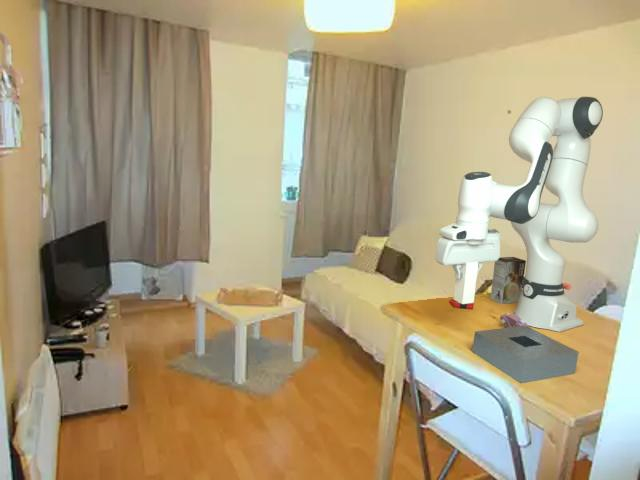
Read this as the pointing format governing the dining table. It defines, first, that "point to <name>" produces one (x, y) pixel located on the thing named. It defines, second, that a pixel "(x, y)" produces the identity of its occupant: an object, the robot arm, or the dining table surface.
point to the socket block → (525, 353)
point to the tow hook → (464, 306)
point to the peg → (466, 283)
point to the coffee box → (507, 279)
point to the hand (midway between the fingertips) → (466, 277)
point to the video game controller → (512, 320)
